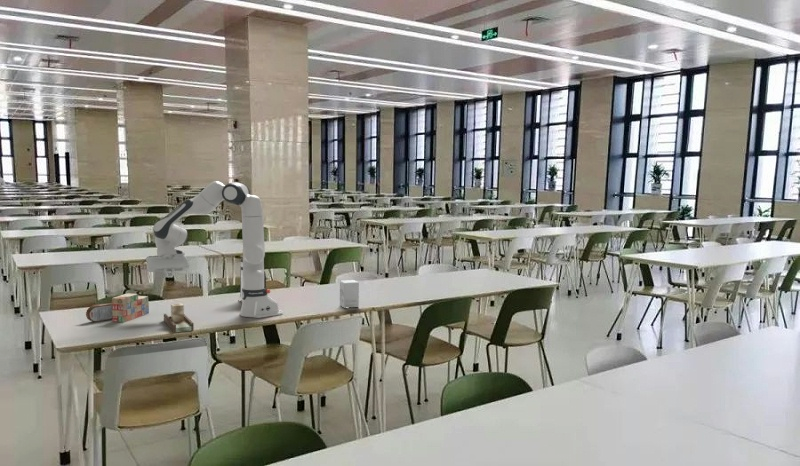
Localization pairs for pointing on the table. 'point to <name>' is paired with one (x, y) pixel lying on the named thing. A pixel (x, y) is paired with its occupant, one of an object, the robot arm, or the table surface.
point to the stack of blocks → (129, 307)
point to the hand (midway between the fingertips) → (170, 276)
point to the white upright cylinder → (242, 278)
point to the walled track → (179, 324)
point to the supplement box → (349, 293)
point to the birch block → (177, 312)
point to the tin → (99, 312)
